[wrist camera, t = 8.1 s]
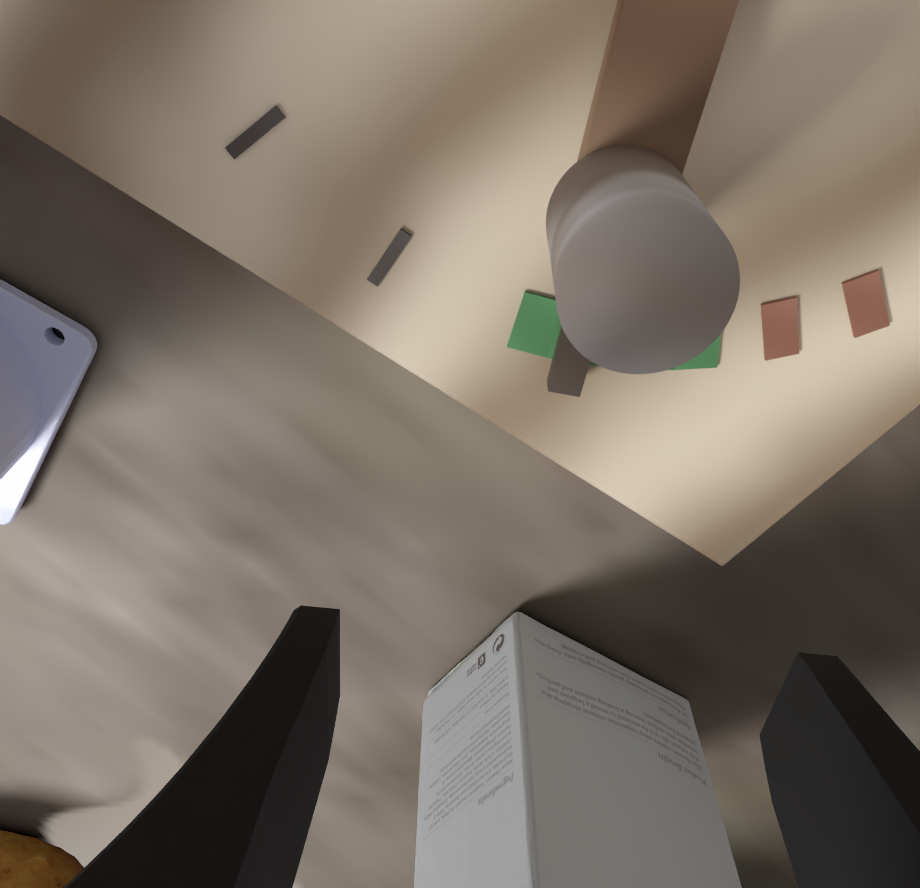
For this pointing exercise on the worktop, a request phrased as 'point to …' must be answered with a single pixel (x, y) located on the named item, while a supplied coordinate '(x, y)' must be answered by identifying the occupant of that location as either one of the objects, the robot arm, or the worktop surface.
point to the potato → (34, 863)
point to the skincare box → (562, 774)
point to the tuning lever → (641, 204)
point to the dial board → (528, 210)
